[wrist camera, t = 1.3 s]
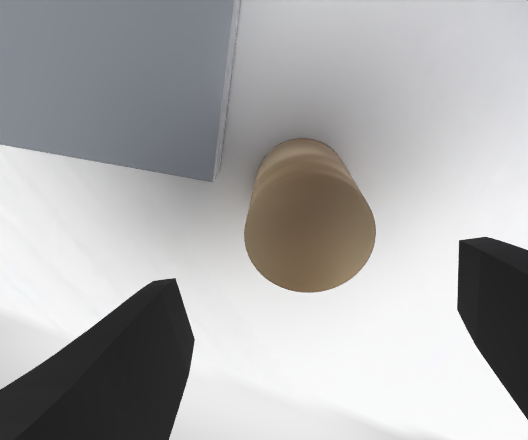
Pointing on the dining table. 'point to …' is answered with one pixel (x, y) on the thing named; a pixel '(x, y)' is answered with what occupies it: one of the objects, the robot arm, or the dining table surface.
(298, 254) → the oak cylinder
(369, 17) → the dining table surface
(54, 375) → the robot arm
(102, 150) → the plate
